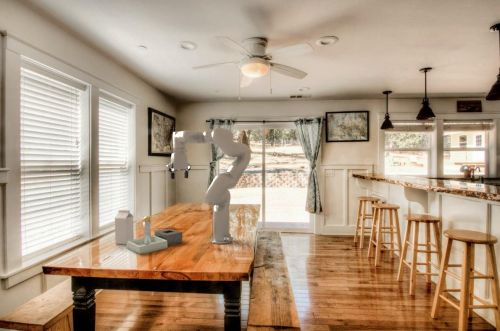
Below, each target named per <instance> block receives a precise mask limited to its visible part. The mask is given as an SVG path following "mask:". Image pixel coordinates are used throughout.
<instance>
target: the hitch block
mask: <svg viewBox="0 0 500 331" xmlns="http://www.w3.org/2000/svg"><path fill="white" fill-rule="evenodd" d="M153 232H154V235H153V236H156V237H159V238H162V239H164V240H167V247H169V246H174V245H178V244H181V243H183V232H182V231H180V230H178V229H177V230H176V229H173V228H170V227H169V228H164V229H160V230H154V231H153Z"/></svg>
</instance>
